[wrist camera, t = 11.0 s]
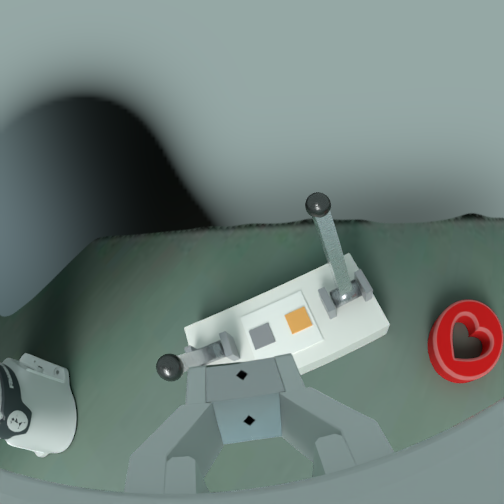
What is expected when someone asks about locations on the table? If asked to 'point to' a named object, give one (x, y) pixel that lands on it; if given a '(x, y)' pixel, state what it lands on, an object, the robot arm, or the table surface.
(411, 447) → the robot arm
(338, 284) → the lever
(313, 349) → the switch unit
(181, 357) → the lever
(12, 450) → the table surface
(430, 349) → the decorative ornament
